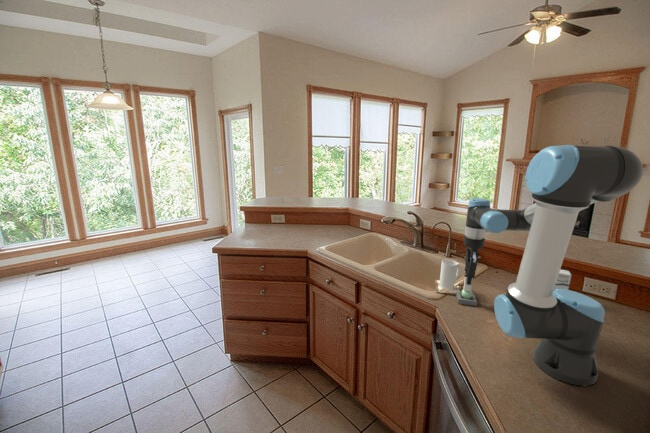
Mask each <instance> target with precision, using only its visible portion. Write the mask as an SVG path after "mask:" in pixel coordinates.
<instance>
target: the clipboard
mask: <svg viewBox="0 0 650 433" xmlns="http://www.w3.org/2000/svg"><path fill="white" fill-rule="evenodd" d="M434 284H435V291H440V290H441V289H443V288H441V287H440V286H439V284H440V279H434ZM462 290H463V289H462V286H461V285H460V286H457V287H456V288H455V289H453V290H451V291H449V292H448V293H447V294H446V295H448V296H455V297H456V291H457V292H462Z"/></svg>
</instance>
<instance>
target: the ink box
mask: <svg viewBox="0 0 650 433" xmlns="http://www.w3.org/2000/svg"><path fill="white" fill-rule="evenodd" d="M571 279H572V274H571V271H569V270H567V269H566V270H565V269H560V272H559V275H558V278H557V281H556V284H555V287H554V290H553V292H554V291H555V290H556V289H566V290H569V288H570V283H571ZM552 294H553V293H552Z"/></svg>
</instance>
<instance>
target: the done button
mask: <svg viewBox="0 0 650 433" xmlns="http://www.w3.org/2000/svg"><path fill="white" fill-rule="evenodd" d="M472 294H473V291H472V290H471V292H470V291H464V289H462V294H461V297H462V298H463V299H470V300H471V299H472Z"/></svg>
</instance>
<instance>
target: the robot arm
mask: <svg viewBox="0 0 650 433" xmlns="http://www.w3.org/2000/svg"><path fill="white" fill-rule="evenodd" d="M643 173H644V167H643V162H642V161H641V159H640V158H639V156H637V154H635V152H633V151H631V150H630V149H628V148H625V147H621V146H617V145H579V144H578V145H573V144H564V145H561V144H560V145H550V146H547V147H545V148H542V149H541V150H539V152H537V153H536V154H535V155H534V156H533V157H532V158H531V160H530V162H529V164H528V166H527V168H526V172H525V186H526V188H527V190H528V191H529V192H530V193H532V194H531V200H532V201H533V202H534V203H533V204H531V205H529V206H527V207H526V208H524V209H496V208H495V209H494V208H491V201H490V200H489V199H487V198H481V197H472V198H470V199H469V200H468V206H467V213H466V222H465V225H464V226H465V227H464V237H463V246H465V247H466V249H465V251H466V252H465V253H466V254H465V265H464V266H465V267H464V282H463V289H464V291H470V292H471V291H472V287H473V279H475V276H476V271H477V266H478V262H479V260H480V259H479V251H478V250H479V249H483V248H484V246H485V240H486V239H485V237H486V234H487V232H490V233H493V234H499V233H502V232H504V231H510V232H511V231H513V232H515V231H516V232H517V231H518V232H519V231H520V232H529V233H528V236H527V240H526V244H525V246H524V247H525V248H524V250H523V255H522V258H521V262H520V265H519V269H518V274H517V276H516V279H515V282H511V283H510V284H509V285H508V286H507V289H506V293H505V294H502V293H501V294H498V295H497V296H495V298H494V302H493V303H494V304H493V307H494V308H493V309H494V314H495V315H494V316H495V319H496V322H497V324H498V325H499V327H500V329H501V331H503V333H504V334H505V335H507V336H509V337H511V338H517V339H518V338H519V339H522V340H523V339H539V340H540V339H541V340H540V341H539V342H538V343H537V345H536V346H535V347H534V349H533V354H532V360H533V361H534V363H535V365H536V366H537V367H538V368H539V369H540V370H541V371H543V372H544V373H545V374H547V375H549V376H550V377H552V378H554V379H556V380H558V381H560V380H561V381H560V382H563V381H564V382H563V383H565V382H567V383H566V384H568V383H571V384H570V385H572V384H575V385H574V386H576V385H591V384H594V383H595V382H596V383H597V380H598V376H599V370H598V366H597V365H598V364H597V359H596V349H597V346H598V342H599V338H600V334H601V331H602V328H603V324H604V323H605V319H604V318H605V314H606V310H605V309H606V308H605V307H604V306H603V305H602V304H601V302H599V301H598V300H596V299H594V298H592V297H590V296H588V295H585V294H582V293H580V292H578V291H573V290H570V289H568V290H566V289H556V290H555V291H554V292H553V290H554V287H555V284H556V281H557V278H558V275H559V272H560V269H561V268H562V265H563V262H564V259H565V256H566V253H567V250H568V246H569V243H570V240H571V237H572V235H573V232H574V228H575V226H576V221H577V219H578V215H579V212H580V213H581V211H583V210H586V209H588V208H589V207H590V205H592V204H595V203H597V202H599V203H606V202H610V201H613V200H615V199H617V198H619V197H622V196H624V195H626V194H627V193H630V191H633V190H634V188H636V187H637V186H638V184H640V182H641V179H642V177H643ZM561 270H562V269H561ZM463 289H462V290H463ZM552 293H553V294H552ZM596 383H595V384H596ZM595 384H594V385H595ZM591 386H592V385H591Z"/></svg>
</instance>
